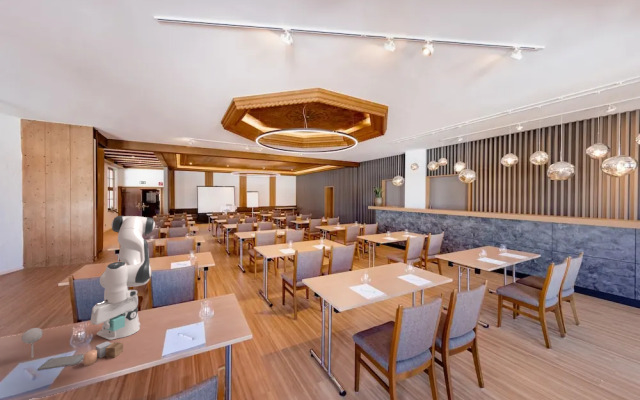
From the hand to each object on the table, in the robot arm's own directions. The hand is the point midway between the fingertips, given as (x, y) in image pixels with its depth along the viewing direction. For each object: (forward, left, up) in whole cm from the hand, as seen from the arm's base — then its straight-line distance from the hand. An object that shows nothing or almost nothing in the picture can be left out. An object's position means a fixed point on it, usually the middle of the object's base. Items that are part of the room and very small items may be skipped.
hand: (115, 324), depth 121 cm
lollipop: (-49, -4, -21) cm, 54 cm away
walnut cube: (-11, +8, -21) cm, 25 cm away
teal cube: (0, 0, -2) cm, 2 cm away
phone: (-29, -3, -22) cm, 37 cm away
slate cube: (-17, +7, -21) cm, 28 cm away
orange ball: (-16, 0, -21) cm, 27 cm away
